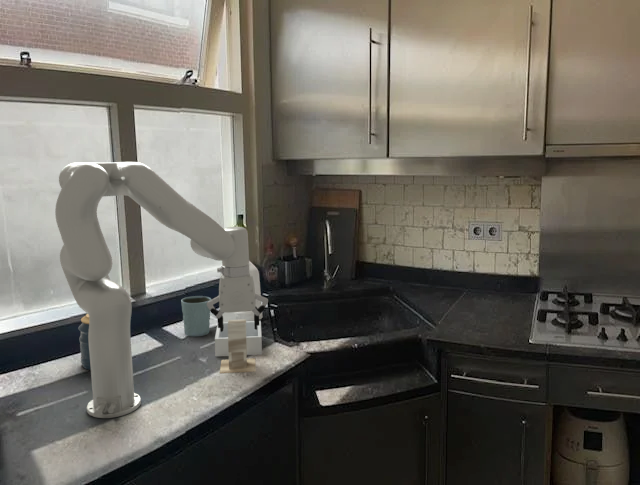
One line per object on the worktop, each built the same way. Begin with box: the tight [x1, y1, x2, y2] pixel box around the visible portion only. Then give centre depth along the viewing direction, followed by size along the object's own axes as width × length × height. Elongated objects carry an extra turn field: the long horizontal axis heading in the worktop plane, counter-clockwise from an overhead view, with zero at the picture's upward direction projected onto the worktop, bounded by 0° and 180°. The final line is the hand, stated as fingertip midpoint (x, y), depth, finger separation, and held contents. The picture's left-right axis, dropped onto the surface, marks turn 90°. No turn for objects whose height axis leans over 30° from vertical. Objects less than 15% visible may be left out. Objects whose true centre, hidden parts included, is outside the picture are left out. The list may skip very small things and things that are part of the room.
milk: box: [218, 260, 263, 322], centre depth 200 cm, size 12×12×26 cm
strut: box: [228, 319, 248, 369], centre depth 154 cm, size 5×5×13 cm
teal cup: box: [180, 295, 212, 337], centre depth 188 cm, size 10×10×12 cm
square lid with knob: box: [219, 357, 257, 374], centre depth 155 cm, size 10×10×6 cm
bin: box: [214, 320, 263, 357], centre depth 170 cm, size 16×14×7 cm
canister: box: [77, 313, 91, 371], centre depth 160 cm, size 13×13×18 cm
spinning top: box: [235, 311, 254, 321], centre depth 187 cm, size 8×8×12 cm
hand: (239, 329), depth 154 cm, fingers open, 9 cm apart
